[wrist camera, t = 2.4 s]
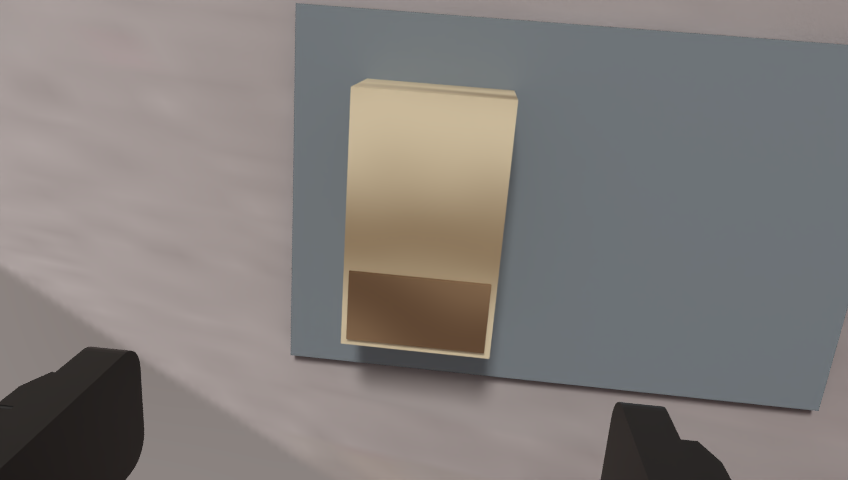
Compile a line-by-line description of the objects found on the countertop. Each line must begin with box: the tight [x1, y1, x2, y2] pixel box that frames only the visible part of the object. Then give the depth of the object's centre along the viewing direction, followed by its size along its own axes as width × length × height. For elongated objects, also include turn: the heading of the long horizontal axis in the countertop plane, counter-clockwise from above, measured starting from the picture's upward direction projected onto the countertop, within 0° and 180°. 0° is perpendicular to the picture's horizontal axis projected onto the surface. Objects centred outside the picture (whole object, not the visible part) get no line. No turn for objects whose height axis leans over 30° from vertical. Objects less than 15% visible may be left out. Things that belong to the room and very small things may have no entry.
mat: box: [291, 3, 848, 411], centre depth 25 cm, size 13×20×1 cm, turn 86°
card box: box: [341, 79, 518, 359], centre depth 23 cm, size 8×5×3 cm, turn 176°
